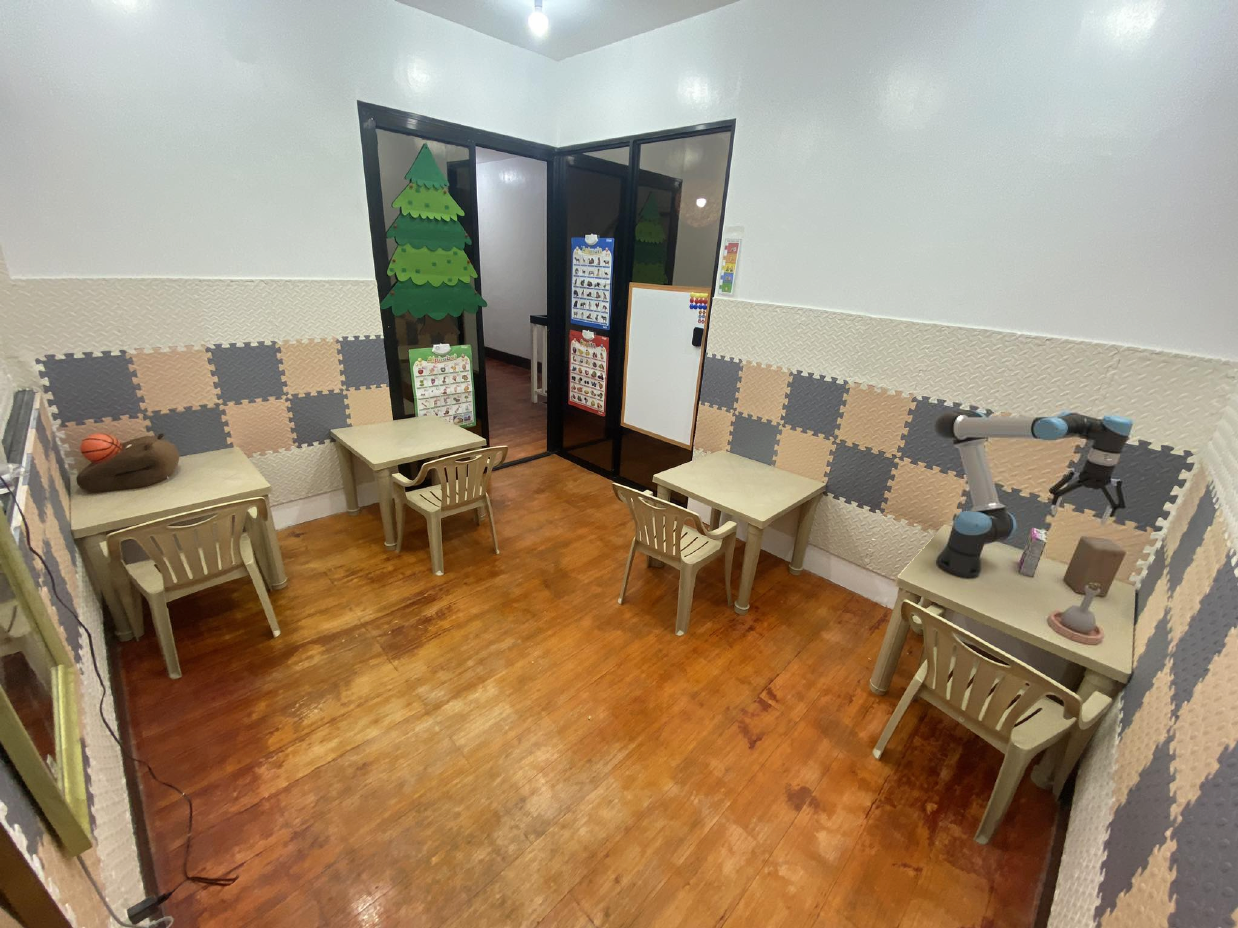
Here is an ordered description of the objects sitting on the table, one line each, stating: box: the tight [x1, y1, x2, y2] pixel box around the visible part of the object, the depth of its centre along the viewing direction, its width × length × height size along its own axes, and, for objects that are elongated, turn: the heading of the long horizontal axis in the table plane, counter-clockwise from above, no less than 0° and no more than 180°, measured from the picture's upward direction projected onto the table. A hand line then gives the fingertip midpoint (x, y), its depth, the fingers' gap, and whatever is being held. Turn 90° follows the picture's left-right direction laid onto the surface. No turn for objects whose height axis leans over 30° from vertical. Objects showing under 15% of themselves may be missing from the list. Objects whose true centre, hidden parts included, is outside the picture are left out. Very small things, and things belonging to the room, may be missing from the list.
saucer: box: [1047, 610, 1106, 645], centre depth 176 cm, size 14×14×2 cm
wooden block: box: [1063, 535, 1127, 597], centre depth 197 cm, size 10×10×20 cm
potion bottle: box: [1061, 583, 1100, 635], centre depth 173 cm, size 9×9×18 cm
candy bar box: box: [1018, 527, 1048, 578], centre depth 208 cm, size 11×5×16 cm, turn 143°
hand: (1077, 518), depth 181 cm, fingers open, 13 cm apart
